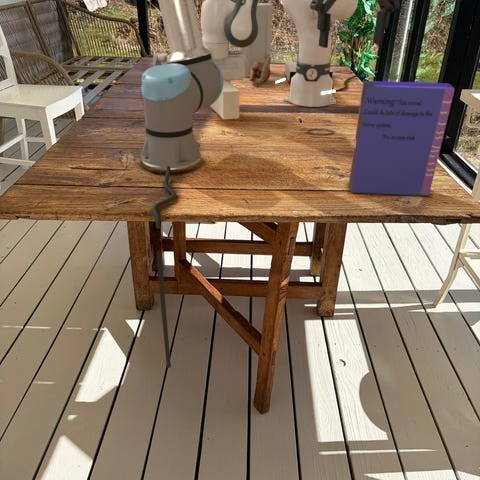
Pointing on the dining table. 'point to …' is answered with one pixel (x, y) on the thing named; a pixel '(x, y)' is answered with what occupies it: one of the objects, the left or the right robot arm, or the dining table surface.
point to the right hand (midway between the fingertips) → (215, 94)
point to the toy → (159, 58)
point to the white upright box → (259, 38)
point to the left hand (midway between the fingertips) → (350, 45)
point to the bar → (227, 102)
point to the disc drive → (294, 70)
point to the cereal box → (399, 137)
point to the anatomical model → (260, 71)
